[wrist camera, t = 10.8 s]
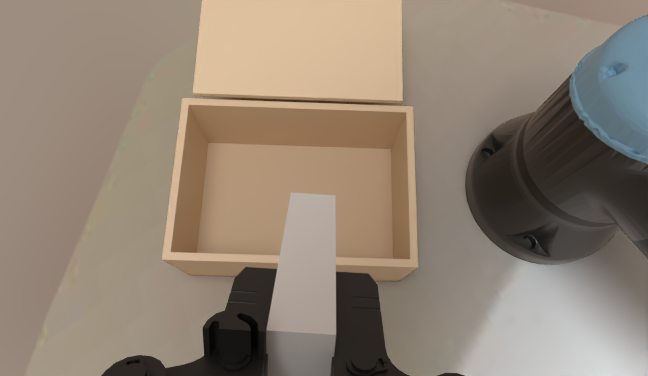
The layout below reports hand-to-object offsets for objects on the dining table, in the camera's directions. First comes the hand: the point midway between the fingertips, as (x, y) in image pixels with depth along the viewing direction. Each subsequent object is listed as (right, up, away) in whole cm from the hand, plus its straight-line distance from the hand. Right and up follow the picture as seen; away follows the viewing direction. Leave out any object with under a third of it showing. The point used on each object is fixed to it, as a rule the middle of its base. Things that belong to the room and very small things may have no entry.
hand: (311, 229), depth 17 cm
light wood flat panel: (-2, +9, +25) cm, 27 cm away
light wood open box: (-2, -1, +32) cm, 32 cm away
